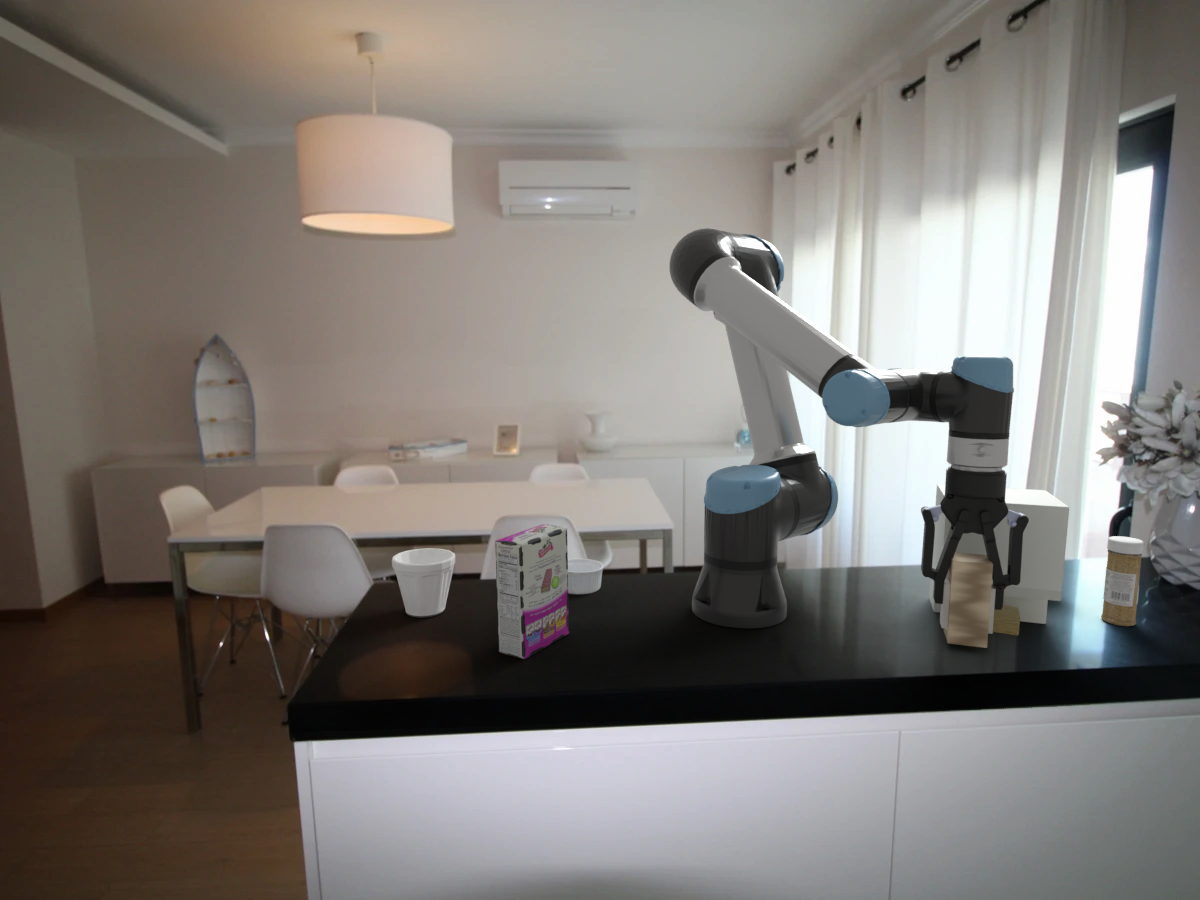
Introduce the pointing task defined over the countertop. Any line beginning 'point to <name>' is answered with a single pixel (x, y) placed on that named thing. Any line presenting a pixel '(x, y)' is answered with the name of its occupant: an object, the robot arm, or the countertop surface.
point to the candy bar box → (532, 590)
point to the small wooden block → (1006, 620)
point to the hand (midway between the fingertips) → (965, 627)
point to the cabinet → (1038, 550)
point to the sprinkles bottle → (1122, 580)
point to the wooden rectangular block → (969, 600)
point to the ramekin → (584, 576)
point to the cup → (424, 579)
